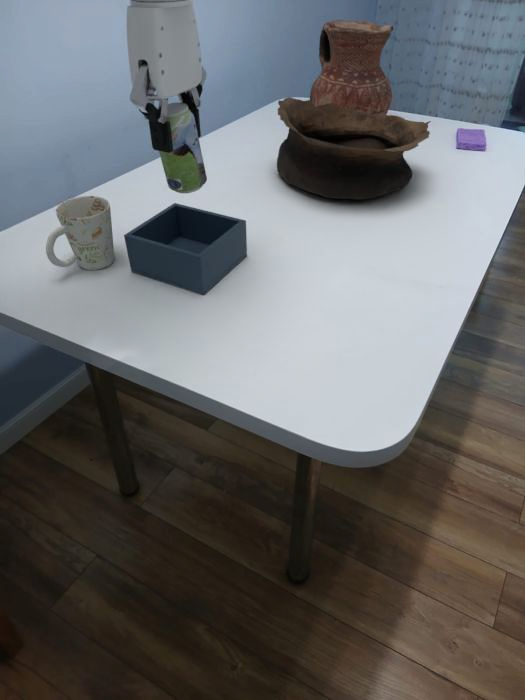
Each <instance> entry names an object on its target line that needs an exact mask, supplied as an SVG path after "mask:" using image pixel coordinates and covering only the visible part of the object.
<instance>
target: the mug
mask: <svg viewBox="0 0 525 700" xmlns="http://www.w3.org/2000/svg"><path fill="white" fill-rule="evenodd" d="M55 214H56V217H57V220H58V222H59V224H60V226H59V227H56V229H54V230H53V231H51V232H50V233H49V235H48V237H47V240H46V244H45V254H46V256H47V260H48V261H49V262H50V264H52V265H53V266H56V267H59V268H68V267H70V266H71V265H73V264H75V263H76V262H77V264H78V265H79V266H80V268H82V269H83V270H88V271H97V270H98V271H99V270H102V269H105V268H107V267H110V266H111V265H112V264H113V263H114V261H115V247H114V236H113V235H114V234H113V225H112V224H113V223H112V211H111V205H110V202H109V200H108V199H106V198H104V197H101V196H98V195H97V196H96V195H82V196H76V197H72V198H68V199H66V200H64V201H62V202H61V203H59V204H58V205H57V206H56V208H55ZM63 235H65V238H66V239H67V242H68V244H69V246H70V249H71V250H72V253H73V255H74V256H73V257H71V258H69V259H68V260H66V261H63V260H61V259H59V258H58V257H57V256H56V254H55V243H56V241H57V239H58V238H60V237H61V236H63Z"/></svg>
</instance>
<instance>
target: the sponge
mask: <svg viewBox="0 0 525 700" xmlns="http://www.w3.org/2000/svg"><path fill="white" fill-rule="evenodd" d="M455 134H456V148H457V149H461V150H471V151H480V152H481V151H482V152H485V151H486V147H487V145H488V144H487V137H486V131H485V129H479V128H478V129H477V128H462V127H457V130H456V133H455Z"/></svg>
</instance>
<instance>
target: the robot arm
mask: <svg viewBox="0 0 525 700" xmlns="http://www.w3.org/2000/svg"><path fill="white" fill-rule="evenodd" d="M129 3H130V5H126V43H127V54H128V57H127V58H128V65H129V73H130V74H129V75H130V81H131V87H132V89H131V90H130V94H129V100H130V102H131V103H132V105H134V106H135V107H136V108H137V109H138V111H139V112H140V113H141V114H142V115H143V116H144V120H145V121H148V126H149V127H148V128H149V133H150V134H149V135H150V141H151V147H152V149H153V150H154V151H158V152H159V151H162V152H167V153H170V152H172V151H173V144H172V135H171V127H170V122H168V121H166V117H167V107H168V104H169V98H173V97H175V96H177V97H178V100H179V103H185V104H187V105H188V109H189V110H190V111H191V112H192V113H193V114H194V118H195V123H196V128H197V133H198V137H199V138H201V136H202V132H201V120H200V109H199V108H201V105H202V102H201V95H202V93H203V88H204V87H203V86H204V85H205V81H206V79H207V71H206V70H205V68H204V67H203V65H202V54H201V53H202V51H201V43H200V35H199V29H198V22H197V17H196V12H195V8H194V4H193V3H194V2H193V0H129ZM155 93H156V94H155ZM155 101H156V102H158V107H159V108H158V107H156V106H155ZM157 108H158V109H157Z"/></svg>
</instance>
